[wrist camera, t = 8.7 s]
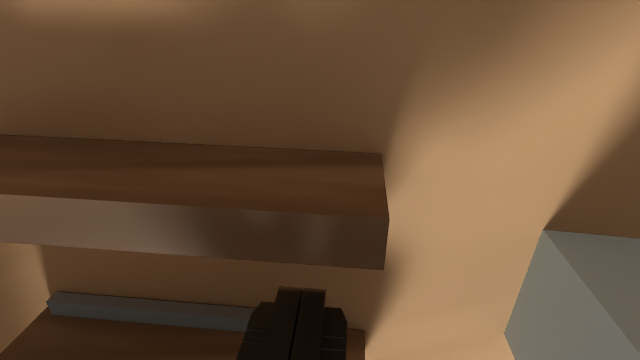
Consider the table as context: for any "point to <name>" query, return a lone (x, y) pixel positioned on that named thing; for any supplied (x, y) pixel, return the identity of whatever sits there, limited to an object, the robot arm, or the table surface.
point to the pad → (150, 311)
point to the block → (578, 300)
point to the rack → (184, 225)
